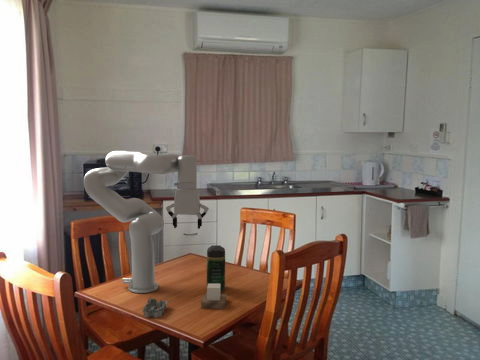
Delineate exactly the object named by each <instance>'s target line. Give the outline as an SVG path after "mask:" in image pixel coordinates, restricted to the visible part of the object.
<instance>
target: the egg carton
mask: <svg viewBox="0 0 480 360" xmlns="http://www.w3.org/2000/svg"><path fill="white" fill-rule="evenodd" d="M167 304H168V300H162V299H160V300H159V301H157V299H156V298H152V296H150V297H149V299H147V302H146V303H145V305H144V306H143V308H142V312H143V316H144V317H145V318H149V317H154V318H156V319H157V318H160V317H162V316H163V313H165V310H166V309H167Z"/></svg>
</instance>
